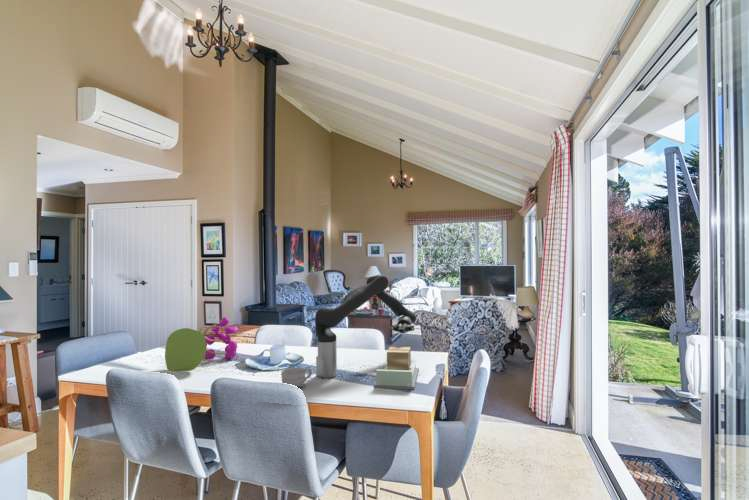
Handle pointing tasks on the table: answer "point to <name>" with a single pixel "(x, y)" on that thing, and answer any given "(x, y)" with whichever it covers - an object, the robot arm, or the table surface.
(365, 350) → the table surface
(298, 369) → the teacup
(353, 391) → the table surface
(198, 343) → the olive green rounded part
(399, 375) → the roller track
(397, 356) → the wood grain cube
